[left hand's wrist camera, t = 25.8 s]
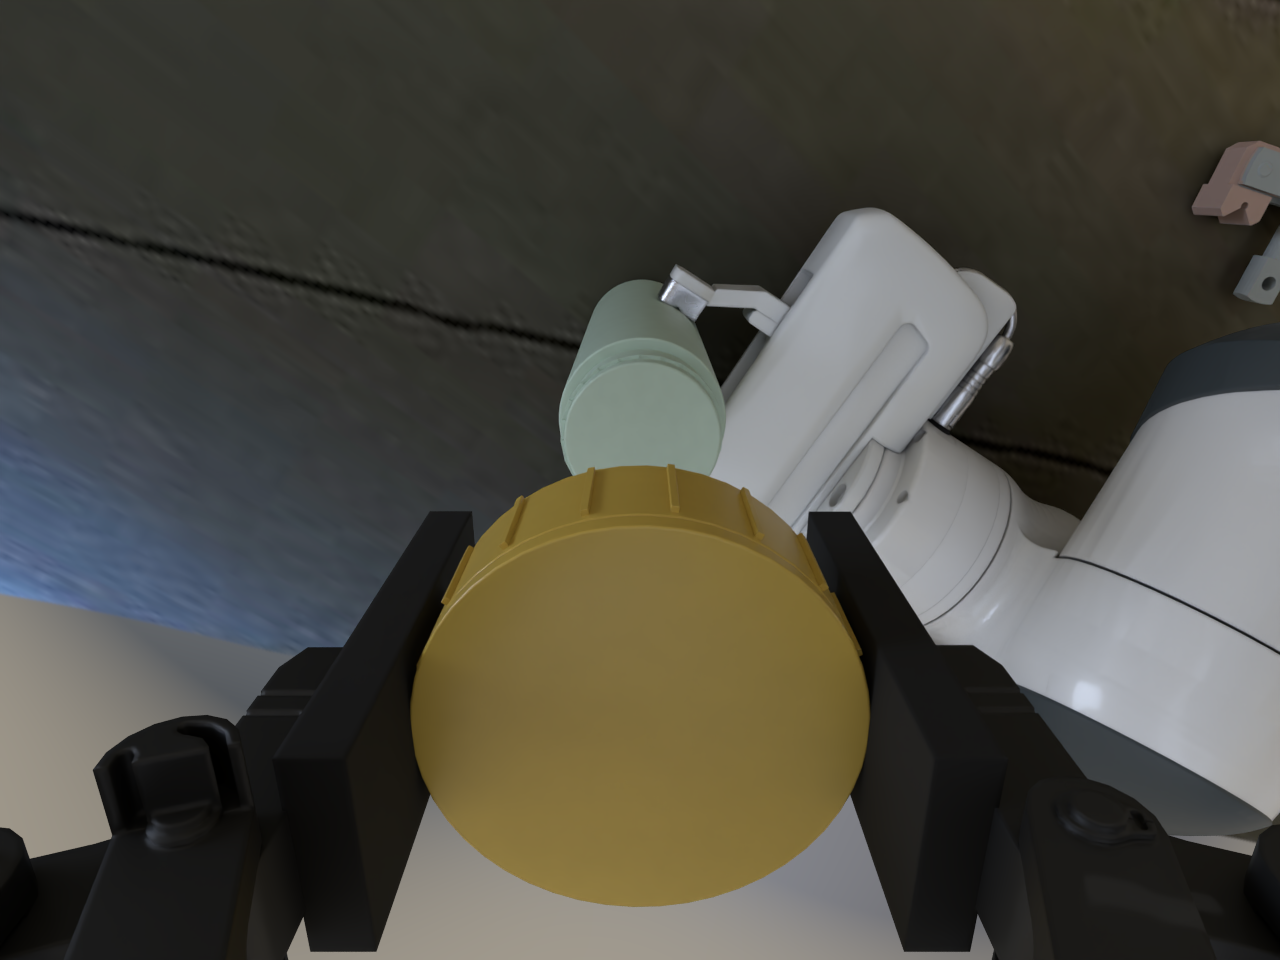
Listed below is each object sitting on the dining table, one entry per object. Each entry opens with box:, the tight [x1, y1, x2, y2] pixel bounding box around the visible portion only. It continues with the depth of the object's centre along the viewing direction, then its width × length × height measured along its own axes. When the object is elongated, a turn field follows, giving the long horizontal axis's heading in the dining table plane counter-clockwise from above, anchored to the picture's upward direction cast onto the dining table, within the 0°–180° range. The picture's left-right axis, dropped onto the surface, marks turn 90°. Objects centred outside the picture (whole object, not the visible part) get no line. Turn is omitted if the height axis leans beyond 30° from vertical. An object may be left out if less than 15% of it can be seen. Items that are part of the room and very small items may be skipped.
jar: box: [559, 280, 726, 476], centre depth 31 cm, size 5×5×17 cm
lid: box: [410, 464, 870, 907], centre depth 11 cm, size 6×6×2 cm
